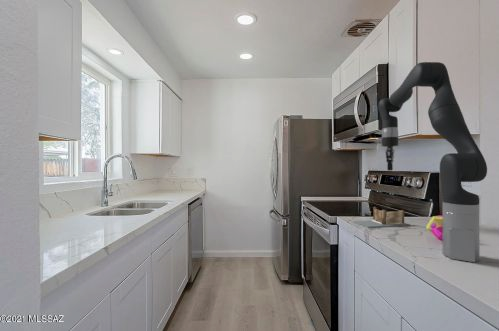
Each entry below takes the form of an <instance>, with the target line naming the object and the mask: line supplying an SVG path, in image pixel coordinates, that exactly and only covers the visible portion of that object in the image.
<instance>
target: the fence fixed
mask: <svg viewBox="0 0 499 331" xmlns="http://www.w3.org/2000/svg"><path fill="white" fill-rule="evenodd" d="M381 211H382V224H383V225H386V220H387V223H405V210H403V209H401V210H398V211H387V209H381Z"/></svg>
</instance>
